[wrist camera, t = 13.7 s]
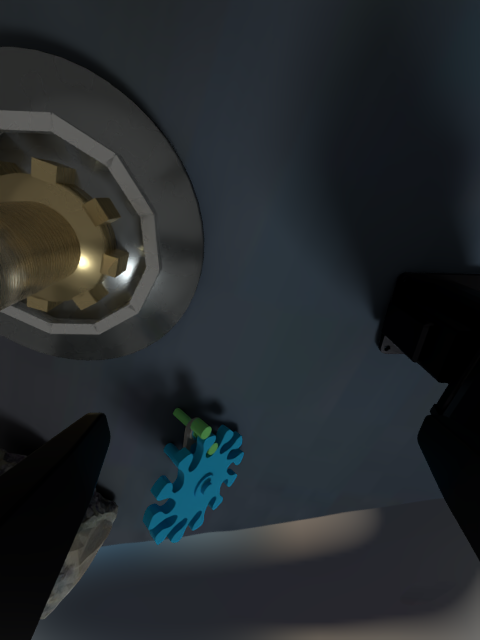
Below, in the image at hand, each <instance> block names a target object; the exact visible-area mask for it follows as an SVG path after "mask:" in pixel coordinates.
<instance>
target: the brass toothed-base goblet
mask: <svg viewBox="0 0 480 640" xmlns="http://www.w3.org/2000/svg"><path fill="white" fill-rule="evenodd" d="M75 173H76V169H73V168H71V167H68V166H65V165H63V164H60V163H57V162H55V161H50V160H45V159H40V158H34V157H32V159H31V174H26V173H22V172H21V170H20V169H19V168H18V166H17V165H16V164H15V163H11V162H4V161H0V311H1V310H3V309H5V308H7V307H9V306H11V305H13V304H15V303H17V302H19V301H21V300H23V299H25V298H27V307H31V308H34V309H38V310H41V311H45V312H48V311H50V310H51V309H53V308H55V307H56V306H58V305H59V304H61V303H63V302H64V301H69V300H73V301H74V302H75V303H76V305H77V306H78V307H79V308H80V310H83V309H85V308H87V307H89V306H91V305H93V304H95V303H97V302H98V301H99V300H101V299H102V298H103V297H105V296H106V295H107V294H108V291H107V290H106V288H105V287H104V286H103V284H102V282H103V281H104V280H105V279H106V278H107V277H108V276H111V277H114V278H116V277H117V276H118V275H120V274H121V273H123V272H124V271H126V268H127V262H128V257H129V253H128V252H125V251H122V250H119V249H116V239H115V235H114V231H113V228H112V226H111V223H112V222H114V221H115V220H117V219H119V218H121V216H120V214H119V212H118V211H117V209H116V208H115V206H114V204H113V203H112V201H111V200H110V198H94V199H93V198H92V197H91V196H90V195H89V194H88V193H86V192H85V191H84V190H82V189H81V188H79V187H78V186H76V185H74V184H75Z"/></svg>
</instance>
